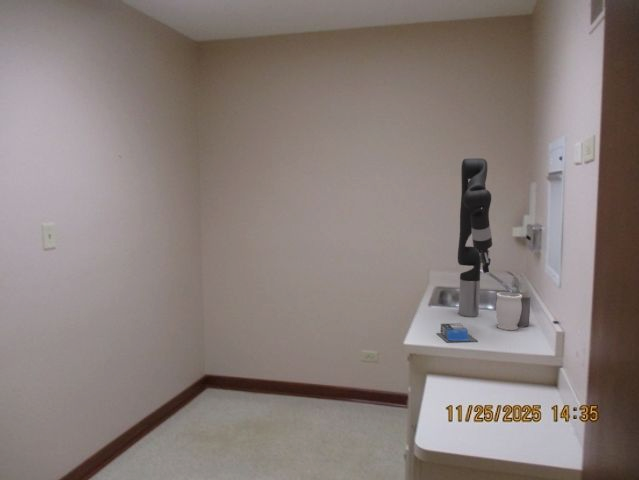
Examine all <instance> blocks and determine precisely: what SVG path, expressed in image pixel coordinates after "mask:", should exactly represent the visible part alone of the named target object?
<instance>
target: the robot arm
mask: <svg viewBox="0 0 639 480" xmlns="http://www.w3.org/2000/svg"><path fill="white" fill-rule="evenodd" d="M460 168H461V196H460V197H461V198H460V212H459V239H458V249H457V263H458V265H459V266H465V267H466V266H468V267H469V266H471V267H472V268H471V269H469V270H467V271H463V272H460V274H459V291H458V292H459V293H458V294H459V298H458V315H460V316H463V317H469V318H471V317H472V318H473V317H478V316H479V311H480V291H481V289H480V288H481V267H482V271H483V273H484V274H486V273H489V269H490V268H489V266H490V265H491V258H490V254H491V253H490V250H489V248H491V247H492V246H493V239H492V229H491V226H490V216H489V214H490V209H491V208H490V207H491V203H492V194H491V191H489V190H488V189H486V188H487V187H486V182H487V177H488V161H487V159H485V158H482V157H481V158H480V157H478V158H463V160H462V161H461V167H460ZM470 237H471V238H472V245H473V246H468V245H467V242H468V240H469V238H470ZM466 245H467V246H466Z"/></svg>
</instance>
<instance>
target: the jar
mask: <svg viewBox="0 0 639 480" xmlns="http://www.w3.org/2000/svg"><path fill="white" fill-rule="evenodd" d="M511 292H512V291H511ZM511 292H509V291H501V292H500V291H499V292H497V293H496V296H497V297H496V298H497V299H496V303H495V311H496V312H495V313H496V319H497V323H498V324H497V327H498V329H500V330H506V331H516V330H518V329H519V327H518V326H517V324H518V322H519V320H520V316H521V311H522V303H521V298H522V295H521V294H517V293H511ZM511 296H516V297H511Z"/></svg>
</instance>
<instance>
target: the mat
mask: <svg viewBox="0 0 639 480" xmlns="http://www.w3.org/2000/svg"><path fill="white" fill-rule="evenodd" d="M436 335H437V336H438V337H440V339H442V340H443V341H444V342H445V343H446V344H452V343H453V344H454V343H456V344H457V343H478V342H479V340H477V338H475V337H474V336H472V335H470V334H469V333H468V337H469V340H471V341H451V340H448V339H447V338H446V337H445V336H444V335H443V334H442V333H441V332H436Z"/></svg>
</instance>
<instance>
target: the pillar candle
mask: <svg viewBox="0 0 639 480" xmlns="http://www.w3.org/2000/svg"><path fill="white" fill-rule="evenodd" d="M511 293H517V294H521V295H522V298H521V303H522V311H521V316H520V320H519V322H518V324H517V326H518V328H524V327H529V326H530V316H531V315H530V314H531V297H532V296H531V294H529V293H527V292H520V291H511ZM511 297H516V296H511Z"/></svg>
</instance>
